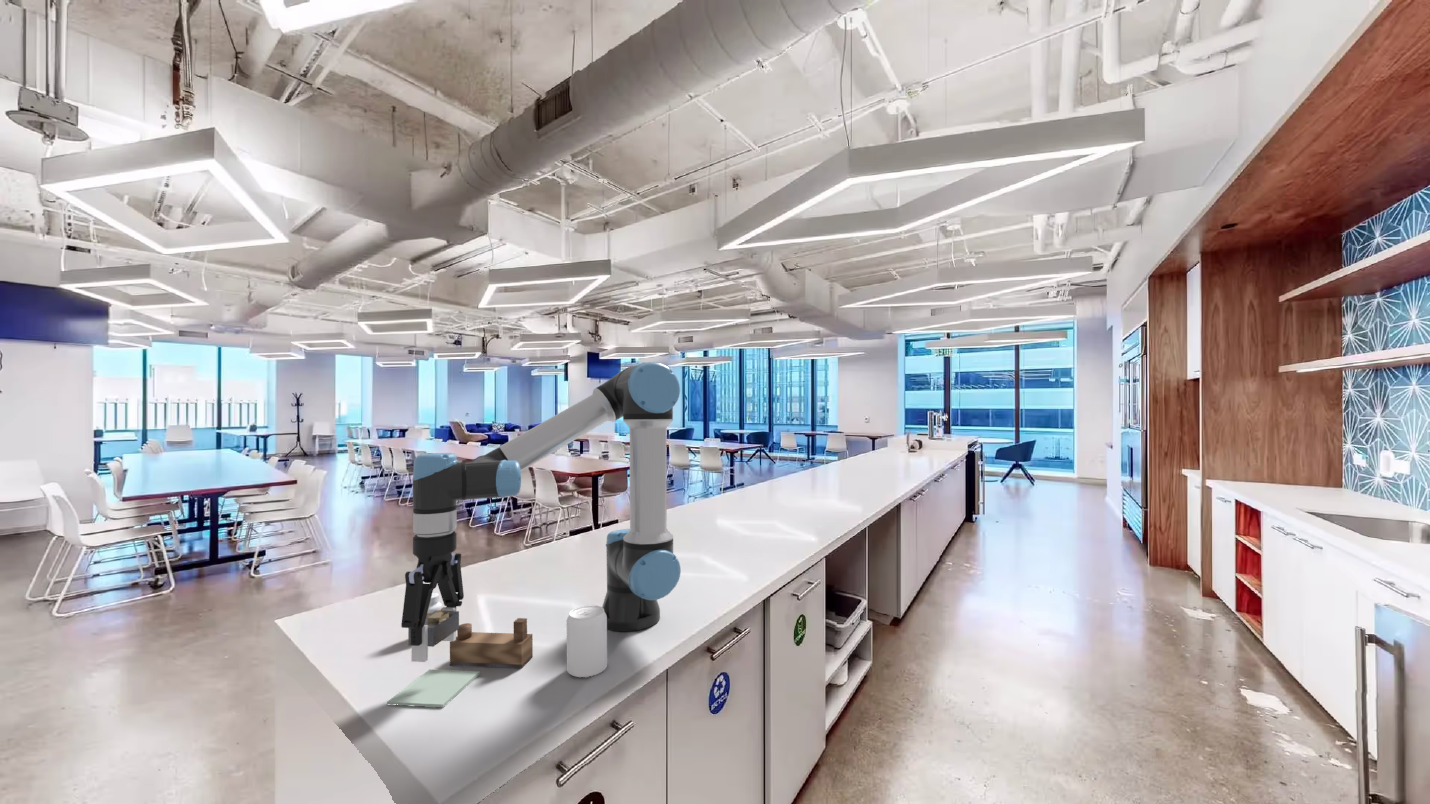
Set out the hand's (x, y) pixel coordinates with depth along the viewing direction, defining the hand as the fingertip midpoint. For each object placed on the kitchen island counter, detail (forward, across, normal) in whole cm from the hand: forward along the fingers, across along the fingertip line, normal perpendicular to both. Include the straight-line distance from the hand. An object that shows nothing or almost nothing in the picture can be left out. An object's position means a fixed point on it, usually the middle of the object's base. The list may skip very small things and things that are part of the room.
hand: (434, 650), depth 101 cm
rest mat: (+8, 0, 0) cm, 8 cm away
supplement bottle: (+8, -23, -17) cm, 29 cm away
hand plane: (+7, -12, +5) cm, 15 cm away
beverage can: (+8, -10, +27) cm, 30 cm away
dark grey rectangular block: (-3, 0, 0) cm, 3 cm away
